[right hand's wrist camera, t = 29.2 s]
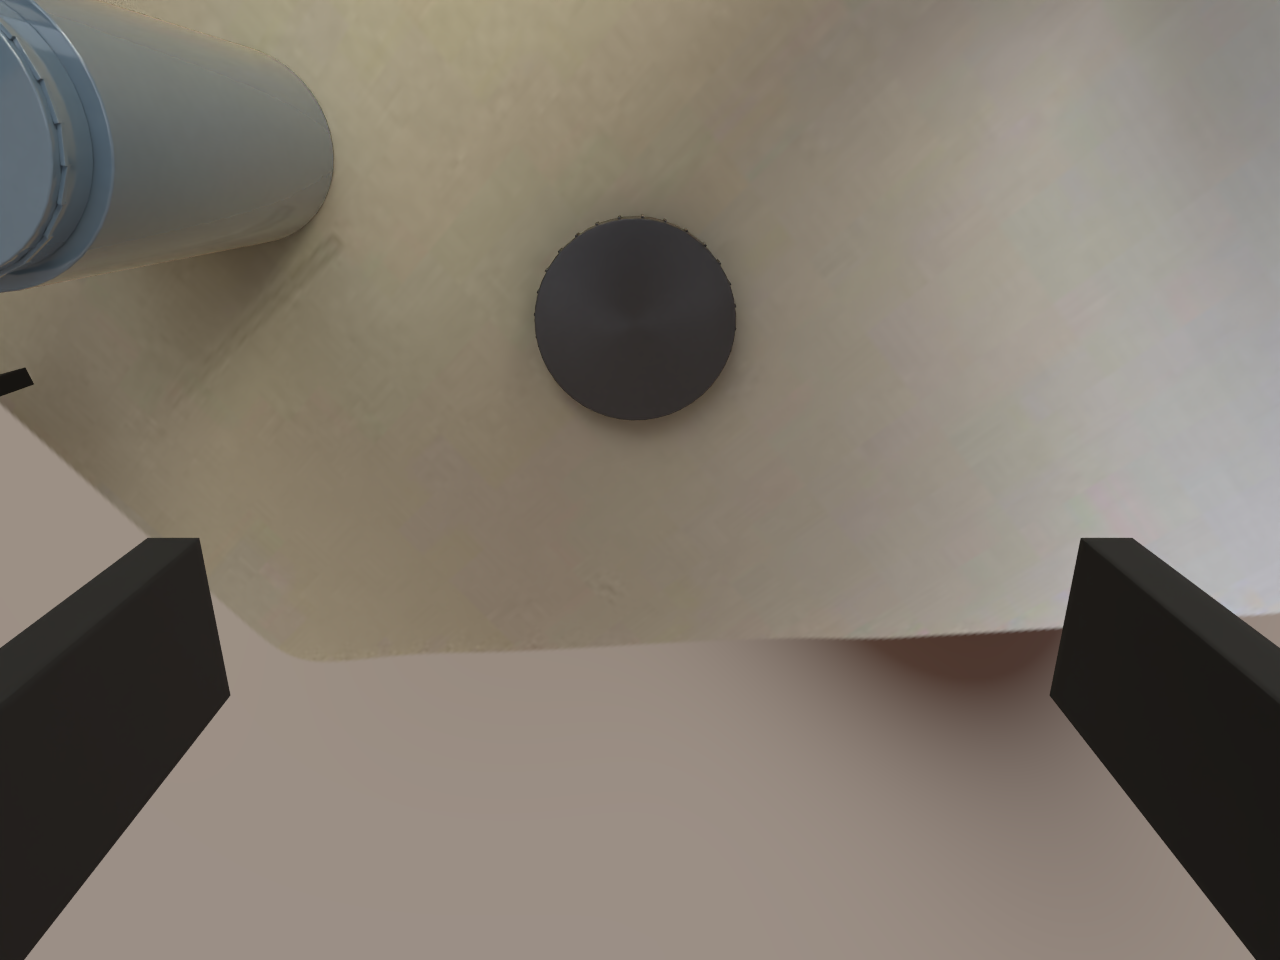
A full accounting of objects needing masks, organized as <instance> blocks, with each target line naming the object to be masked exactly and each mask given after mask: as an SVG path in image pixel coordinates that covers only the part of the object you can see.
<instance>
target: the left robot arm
mask: <svg viewBox="0 0 1280 960" xmlns="http://www.w3.org/2000/svg"><path fill="white" fill-rule="evenodd" d="M33 384H34V383H33V381H32V379H31V378H30V376H29V374H28V372H27V370H26V368H22V369H18V370H14V371H11V372H7V373H4V374H0V396H3V395H5V394H8V393H11V392H14V391H17V390H19V389H22V388H25V387H28V386H31V385H33Z"/></svg>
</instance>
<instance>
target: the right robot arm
mask: <svg viewBox="0 0 1280 960" xmlns="http://www.w3.org/2000/svg"><path fill="white" fill-rule="evenodd" d="M229 696H230V691H229V686H228V681H227V676H226V671H225V666H224V661H223V656H222V651H221V646H220V641H219V636H218V631H217V626H216V620H215V615H214V610H213V605H212V600H211V595H210V590H209V585H208V580H207V575H206V570H205V565H204V560H203V555H202V550H201V545H200V540H199V538H147V539H146V540H144V541H143V542H142V543H140V544H139V545H138V546H136V547H135V548H134V549H132V550H131V551H130V552H128V553H127V554H126V555H124V556H123V557H122V558H120V559H119V560H118V561H116V562H115V563H114V564H112V565H111V566H110V567H108V568H107V569H106V570H104V571H103V572H102V573H100V574H99V575H97V576H96V577H95V578H94V579H92V580H91V581H89V582H88V583H87V584H85V585H84V586H83V587H81V588H80V589H79V590H77V591H76V592H75V593H73V594H72V595H71V596H69V597H68V598H67V599H65V600H64V601H63V602H61V603H60V604H59V605H57V606H56V607H55V608H53V609H52V610H51V611H49V612H48V613H47V614H45V615H44V616H43V617H41V618H40V619H39V620H37V621H36V622H35V623H33V624H32V625H31V626H29V627H28V628H27V629H25V630H24V631H23V632H21V633H20V634H18V635H17V636H16V637H15V638H13V639H12V640H10V641H9V642H8V643H6V644H5V645H4V646H2V647H1V648H0V960H24V959H25V958H26V957H27V955H28V954H29V953H30V951H31V950H32V949H33V948H34V946H35V945H36V944H37V942H38V941H39V940H40V939H41V937H42V936H43V935H44V934H45V932H46V931H47V930H48V928H49V927H50V926H51V925H52V923H53V922H54V921H55V919H56V918H57V917H58V916H59V914H60V913H61V912H62V911H63V909H64V908H65V907H66V905H67V904H68V903H69V902H70V900H71V899H72V898H73V896H74V895H75V894H76V893H77V891H78V890H79V889H80V887H81V886H82V885H83V884H84V882H85V881H86V880H87V878H88V877H89V876H90V875H91V873H92V872H93V871H94V869H95V868H96V867H97V866H98V864H99V863H100V862H101V860H102V859H103V858H104V857H105V855H106V854H107V853H108V852H109V850H110V849H111V848H112V846H113V845H114V844H115V843H116V841H117V840H118V839H119V837H120V836H121V835H122V834H123V832H124V831H125V830H126V828H127V827H128V826H129V825H130V823H131V822H132V821H133V820H134V818H135V817H136V816H137V814H138V813H139V812H140V811H141V809H142V808H143V807H144V805H145V804H146V803H147V802H148V800H149V799H150V798H151V796H152V795H153V794H154V793H155V791H156V790H157V789H158V787H159V786H160V785H161V784H162V782H163V781H164V780H165V778H166V777H167V776H168V775H169V773H170V772H171V771H172V770H173V768H174V767H175V766H176V764H177V763H178V762H179V761H180V759H181V758H182V757H183V755H184V754H185V753H186V752H187V750H188V749H189V748H190V746H191V745H192V744H193V743H194V741H195V740H196V739H197V737H198V736H199V735H200V734H201V732H202V731H203V730H204V728H205V727H206V726H207V725H208V723H209V722H210V721H211V720H212V718H213V717H214V716H215V714H216V713H217V712H218V710H219V709H220V708H221V707H222V705H223V704H224V703H225V701H226V700H227V699H228V698H229ZM1050 696H1051V698H1052V699H1053V700H1054V702H1055V703H1056V704H1057V705H1058V707H1059V708H1060V709H1061V710H1062V712H1063V713H1064V714H1065V716H1066V717H1067V718H1068V720H1069V721H1070V722H1071V723H1072V725H1073V726H1074V727H1075V729H1076V730H1077V731H1078V732H1079V734H1080V735H1081V736H1082V737H1083V739H1084V740H1085V741H1086V743H1087V744H1088V745H1089V746H1090V748H1091V749H1092V750H1093V752H1094V753H1095V754H1096V755H1097V757H1098V758H1099V759H1100V761H1101V762H1102V763H1103V764H1104V766H1105V767H1106V768H1107V770H1108V771H1109V772H1110V773H1111V775H1112V776H1113V777H1114V778H1115V780H1116V781H1117V782H1118V784H1119V785H1120V786H1121V787H1122V789H1123V790H1124V791H1125V793H1126V794H1127V795H1128V796H1129V798H1130V799H1131V800H1132V802H1133V803H1134V804H1135V805H1136V807H1137V808H1138V809H1139V811H1140V812H1141V813H1142V814H1143V816H1144V817H1145V818H1146V820H1147V821H1148V822H1149V823H1150V825H1151V826H1152V827H1153V828H1154V830H1155V831H1156V832H1157V834H1158V835H1159V836H1160V837H1161V839H1162V840H1163V841H1164V843H1165V844H1166V845H1167V846H1168V848H1169V849H1170V850H1171V852H1172V853H1173V854H1174V855H1175V857H1176V858H1177V859H1178V860H1179V862H1180V863H1181V864H1182V866H1183V867H1184V868H1185V869H1186V871H1187V872H1188V873H1189V875H1190V876H1191V877H1192V878H1193V880H1194V881H1195V882H1196V884H1197V885H1198V886H1199V887H1200V889H1201V890H1202V891H1203V893H1204V894H1205V895H1206V896H1207V898H1208V899H1209V900H1210V902H1211V903H1212V904H1213V905H1214V907H1215V908H1216V909H1217V910H1218V912H1219V913H1220V914H1221V916H1222V917H1223V918H1224V919H1225V921H1226V922H1227V923H1228V925H1229V926H1230V927H1231V928H1232V930H1233V931H1234V932H1235V934H1236V935H1237V936H1238V937H1239V939H1240V940H1241V941H1242V942H1243V944H1244V945H1245V946H1246V948H1247V949H1248V950H1249V951H1250V953H1251V954H1252V955H1253V957H1254V958H1255V959H1256V960H1280V648H1279V647H1278V646H1276V645H1275V644H1274V643H1272V642H1271V641H1270V640H1268V639H1267V638H1265V637H1264V636H1263V635H1262V634H1260V633H1259V632H1257V631H1256V630H1255V629H1253V628H1252V627H1251V626H1249V625H1248V624H1247V623H1245V622H1244V621H1243V620H1241V619H1240V618H1239V617H1237V616H1236V615H1235V614H1233V613H1232V612H1231V611H1229V610H1228V609H1227V608H1225V607H1224V606H1223V605H1221V604H1220V603H1219V602H1217V601H1216V600H1215V599H1213V598H1212V597H1211V596H1209V595H1208V594H1207V593H1205V592H1204V591H1203V590H1201V589H1200V588H1199V587H1197V586H1196V585H1195V584H1193V583H1192V582H1191V581H1189V580H1188V579H1187V578H1185V577H1184V576H1183V575H1181V574H1180V573H1178V572H1177V571H1176V570H1174V569H1173V568H1172V567H1170V566H1169V565H1168V564H1166V563H1165V562H1164V561H1162V560H1161V559H1160V558H1158V557H1157V556H1156V555H1154V554H1153V553H1152V552H1150V551H1149V550H1148V549H1146V548H1145V547H1144V546H1142V545H1141V544H1140V543H1138V542H1137V541H1136V540H1134V539H1133V538H1081V540H1080V545H1079V550H1078V555H1077V560H1076V565H1075V570H1074V575H1073V580H1072V585H1071V590H1070V595H1069V600H1068V605H1067V610H1066V615H1065V620H1064V626H1063V631H1062V636H1061V641H1060V646H1059V651H1058V656H1057V661H1056V666H1055V671H1054V676H1053V681H1052V686H1051V691H1050Z"/></svg>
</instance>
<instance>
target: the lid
mask: <svg viewBox="0 0 1280 960" xmlns="http://www.w3.org/2000/svg"><path fill="white" fill-rule="evenodd" d="M706 246H707V245H706V244H705V243H704V242H702V243H701V242H700V241H699V240H698V239H697V238H695V237H694V236H693V235H691V234H690V233H689V232H688V230H687V229H686V228H684V229H682V228H680V227H678V226H676V225H674V224H671V223H669V222H667V220H666V219H664V220H659V219H655V218H651V217H644V215H641V216H631V217H621V216H618V218H615V219H611V220H608V221H604V222H601V223H599V222H597V223H596V224H595V226H592V227H590V228H588V229H587V230H585V231H584V232H582V233H581V234H580V233H577V234H576V235H575V238H574V239H573V240H572V241H571V242H569V243H568V244H567V245H566V246H565V247H564V248H561V249H560V250H559V251H558V253H559V254H558V255H557V256H556V258H555V259H554V260H553V262H552V264H551V265H550V266H549V267H548V268H547V269H546V270H545V272H546V274H545V276H544V278H543V280H542V283H541V286H540V289H539V290H538V291H537V293H538V295H537V301H536V306H535V313H534V316H535V332H536V338H537V342H538V347H539V350H540V352H541V355H542V358H543V360H544V362H545V364H546V366H547V368H548V370H549V372H550V373H551V375H552V376H553V378H554V379H555V381H556V382H557V383H558V384H559V385H560V386H561V388H562V389H563V390H564V391H565V392H566V393H567V394H569V395H570V396H571V397H572V398H573V399H574V400H576V401H577V402H579V403H580V404H582V405H583V406H585V407H587V408H589V409H591V410H593V411H595V412H597V413H600V414H603V415H605V416H609V417H613V418H617V419H625V420H647V419H653V418H658V417H662V416H665V415H669V414H671V413H674V412H676V411H678V410H681V409H682V408H684V407H686V406H687V405H689V404H691V403H692V402H694V401H695V400H696V399H697V398H699V397H700V396H701V395H702V394H703V393H704V392H705V391H706V390H707V389H708V388H709V387H710V386H711V385H712V384H713V383H714V381H715V380H716V379H717V377H718V376H719V374H720V373H721V371H722V369H723V368H724V366H725V364H726V362H727V359H728V357H729V354H730V352H731V348H732V345H733V341H734V335H735V330H736V312H735V308H736V305H735V303H734V298H733V294H732V291H731V287H730V285H731V283H730V282H729V280H728V279H727V277H726V275H725V273H724V271H723V270H722V268H721V266H720V264H721V263H720V261H719V260H718V259H717V260H716V259H715V258H714V256H713V255H712V254H711V252H710V251H709V250H708V249H707V248H706Z"/></svg>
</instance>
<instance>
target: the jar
mask: <svg viewBox="0 0 1280 960" xmlns="http://www.w3.org/2000/svg"><path fill="white" fill-rule="evenodd" d="M332 173H333V145H332V140H331V135H330V130H329V128H328V125H327V122H326V119H325V116H324V114H323V112H322V110H321V108H320V106H319V104H318V102H317V101H316V99H315V97H314V96H313V94H312V93H311V91H310V90H309V89H308V88H307V86H306V85H305V84H304V82H303V81H302V80H301V79H300V78H299V77H298V76H297V75H296V74H295V73H294V72H293V71H291V70H290V69H289V68H288V67H286V66H285V65H284V64H283V63H281V62H279V61H278V60H276V59H275V58H273V57H271V56H269V55H267V54H265V53H263V52H261V51H259V50H256V49H252V48H249V47H246V46H243V45H240V44H237V43H233V42H230V41H227V40H224V39H221V38H218V37H214V36H211V35H208V34H205V33H202V32H198V31H195V30H192V29H189V28H186V27H183V26H179V25H176V24H173V23H170V22H167V21H163V20H160V19H157V18H154V17H151V16H148V15H144V14H141V13H138V12H135V11H132V10H128V9H125V8H122V7H119V6H116V5H113V4H109V3H106V2H103V1H100V0H0V293H1V292H10V291H19V290H24V289H30V288H35V287H40V286H45V285H50V284H55V283H61V282H66V281H71V280H76V279H81V278H86V277H92V276H97V275H102V274H107V273H112V272H117V271H122V270H128V269H133V268H138V267H143V266H148V265H153V264H159V263H164V262H169V261H174V260H179V259H184V258H190V257H195V256H200V255H205V254H210V253H215V252H221V251H226V250H231V249H236V248H241V247H246V246H252V245H257V244H262V243H267V242H272V241H276V240H279V239H282V238H285V237H287V236H289V235H291V234H293V233H295V232H296V231H298V230H300V229H301V228H302V227H303V226H305V225H306V224H307V223H308V222H309V221H310V220H311V219H312V218H313V217H314V216H315V215H316V213H317V212H318V210H319V209H320V207H321V206H322V204H323V202H324V200H325V198H326V196H327V193H328V190H329V187H330V184H331V179H332Z"/></svg>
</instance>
